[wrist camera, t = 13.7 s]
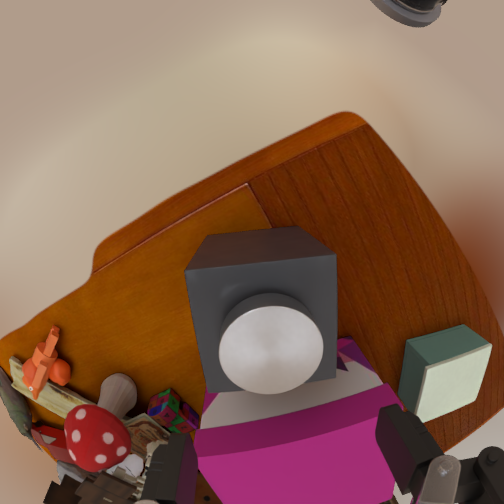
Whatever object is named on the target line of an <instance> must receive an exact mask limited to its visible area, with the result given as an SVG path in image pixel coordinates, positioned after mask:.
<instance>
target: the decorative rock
mask: <svg viewBox="0 0 504 504" xmlns="http://www.w3.org/2000/svg"><path fill="white" fill-rule="evenodd" d="M57 471H58V474H59V476H58V477H59V479H60V483H61V482H62V479H63V477H64V474H67V475H68V476H70V477H72V478H74V479H75V480H77V481H79V482H81V483H82V482H83V481H84V479H85V478H86V477H88V478H90V479H92V480H95V479H96V478H97V476H98V475H99V474H100V473H99V472H89V471H86V470H84V469H82V468H80V467H79V466H78V465H76V464H71V463H67V462H64V461H60V460H57Z"/></svg>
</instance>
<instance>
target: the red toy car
mask: <svg viewBox="0 0 504 504" xmlns="http://www.w3.org/2000/svg"><path fill="white" fill-rule="evenodd" d="M31 433H32V435H33V436H34V438H35V439H36V441H37V443H39V444H41V445H43V446H45V447H47V448H48V450H49V451H50V453H51V454H52V456H53V457H54V458H55V459H58V460H60V461H64V462H67V463H71V464H76V463H75V462H74V461H73V460H72V458H71V457H70V455H69V452H68V450H67V444H66V436H65V431H62V430H58V429H55V428H51V427H48V426H45V425H44V424H43V422H42V421H37V422H35V423H34V422H32V429H31ZM76 465H77V464H76Z"/></svg>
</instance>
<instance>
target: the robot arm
mask: <svg viewBox="0 0 504 504" xmlns="http://www.w3.org/2000/svg"><path fill="white" fill-rule="evenodd" d="M391 1H393V2H394V3H395V4H397V5H398V6H400V7H401V8H403V9H405V10H407V11H409V12H412V13H415V14H428V13H430V12H431V11H433V10H434V9H435V8H436V7H437V6H438V5H439V4H441V3H442V2H443V3H442V5H444V4H445V3H446V1H447V0H391ZM442 5H441V6H442ZM441 6H440V7H441ZM375 438H376V442H377V444H378V446H379V448H380V450H381V452H382V454H383V456H384V458H385V460H386V462H387V464H388V466H389V468H390V471H391V473H392V475H393V477H394V479H395V481H396V483H397V485H398V487H399V489H400V491H401V493H402V495H404V494H407V493H410V492H411V494H412V495H413V498H412V500H411V503H410V504H454V503H459V504H504V451H503V450H502V449H500V448H498V447H493V446H491V447H487V448H485V449H483V450H482V451H481V452H480V454H479V456H478V457H474V458H469V459H464V460H458V459H457V458H455V457H453V456H450V455H445V454H444V453H443V452H442V450H441V449H440V447H439V446H438V444H437V443H436V441H435V440H434V438H433V437H432V435H431V434H430V433H429V432H428V430H427V428H426V427H425V426H424V424H423V423H422V421H421V420H420V418H419V417H418V416H417V415H415V414H414V413H412V412H410V411H407V412H403V410H402V409H401V407H400V406H399V404H397V403H395V404H392V405H388V406H385V407H381V408H380V409H379V414H378V419H377V424H376V429H375ZM197 472H198V458H197V454H196V451H195V448H194V445H193V442H192V439H191V437H190V434H189V433H171V434H170V436H169V440H168V444H159V446H158V447H157V448H156V449H155V450H154V452H153V454H152V457H151V461H150V464H149V468H148V472H147V475H146V479H145V483H144V487H143V490H142V494H141V497H140V500H139V501H137V502H135V503H134V504H194V498H195V489H196V480H197Z"/></svg>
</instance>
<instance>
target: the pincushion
mask: <svg viewBox="0 0 504 504" xmlns="http://www.w3.org/2000/svg"><path fill="white" fill-rule="evenodd" d="M117 466H119V467H121V468H123V469H125V470H126V474H128V475H130V476H133V477H135V478H136V477H137V476H140V473H141V472H142V470H143V459H142V458H140V457H139V456H137V455H136V454H132V455H128V456H127V457H126V458H125V460H124V461H123V462H122V463H119V464H117V465H115V466H113V467H111V468H110V469H108V470H107V471H106V472H107V473H109V474H111V475H112V474H113V473H114V471H115V469H116V468H117Z"/></svg>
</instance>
